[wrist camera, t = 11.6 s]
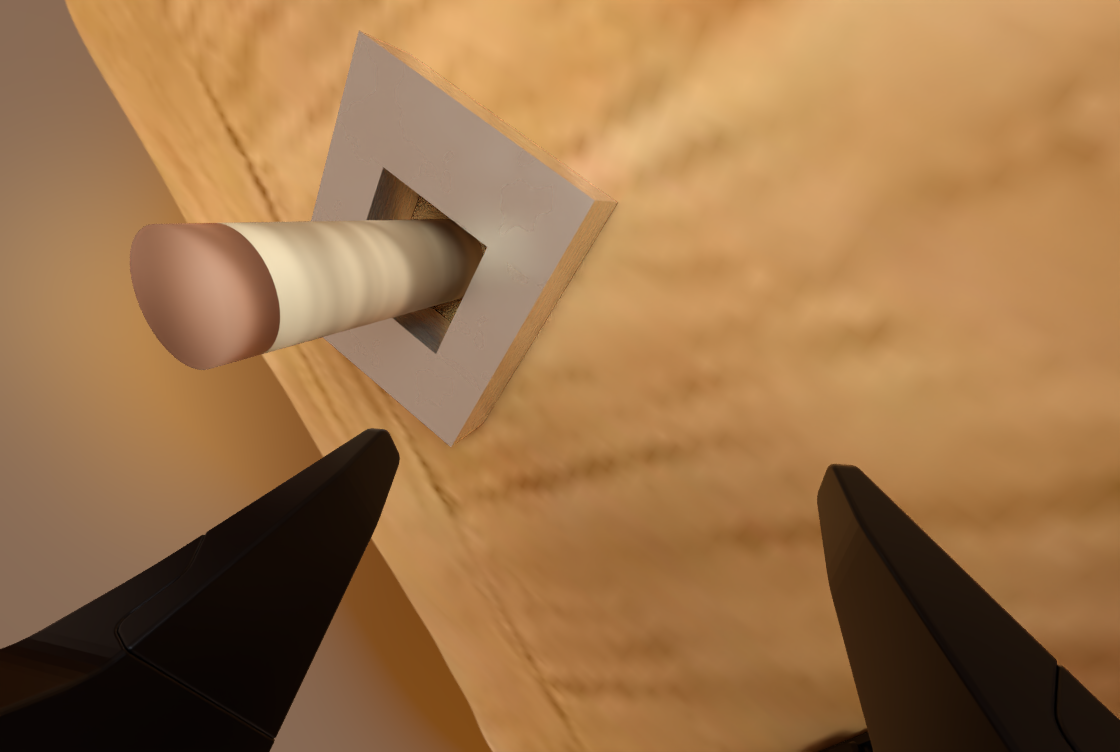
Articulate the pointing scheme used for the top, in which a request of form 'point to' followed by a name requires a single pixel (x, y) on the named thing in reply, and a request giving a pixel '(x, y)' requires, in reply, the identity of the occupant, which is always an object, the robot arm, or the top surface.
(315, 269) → the beech pin
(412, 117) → the square hole block
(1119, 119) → the top surface
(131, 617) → the robot arm
